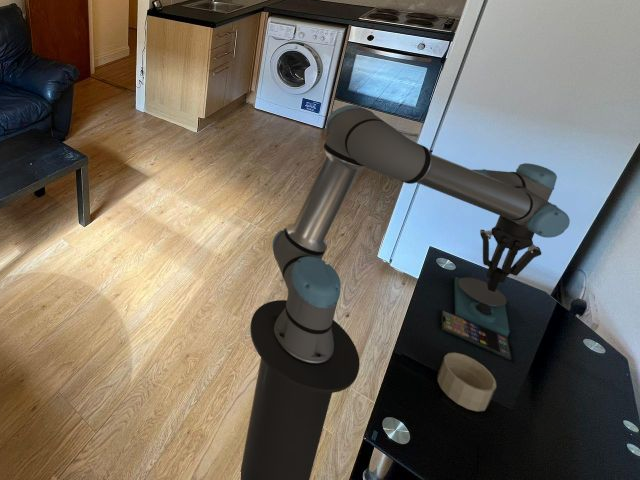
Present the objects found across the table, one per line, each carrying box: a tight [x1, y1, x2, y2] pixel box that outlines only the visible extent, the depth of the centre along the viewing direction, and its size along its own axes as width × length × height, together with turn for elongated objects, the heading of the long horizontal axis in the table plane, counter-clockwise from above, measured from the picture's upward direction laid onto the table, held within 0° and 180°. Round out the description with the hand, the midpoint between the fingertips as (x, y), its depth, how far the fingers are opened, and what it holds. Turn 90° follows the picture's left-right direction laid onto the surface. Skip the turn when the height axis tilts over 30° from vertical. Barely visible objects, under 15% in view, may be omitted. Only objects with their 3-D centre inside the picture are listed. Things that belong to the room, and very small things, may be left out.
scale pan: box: [458, 277, 507, 307], centre depth 126 cm, size 12×12×1 cm
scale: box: [453, 276, 510, 338], centre depth 125 cm, size 18×12×4 cm, turn 142°
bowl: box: [436, 352, 497, 412], centre depth 98 cm, size 10×10×7 cm
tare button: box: [477, 303, 491, 315], centre depth 119 cm, size 3×3×2 cm
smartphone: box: [441, 309, 512, 361], centre depth 115 cm, size 8×15×1 cm, turn 54°
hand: (491, 288), depth 117 cm, fingers closed
